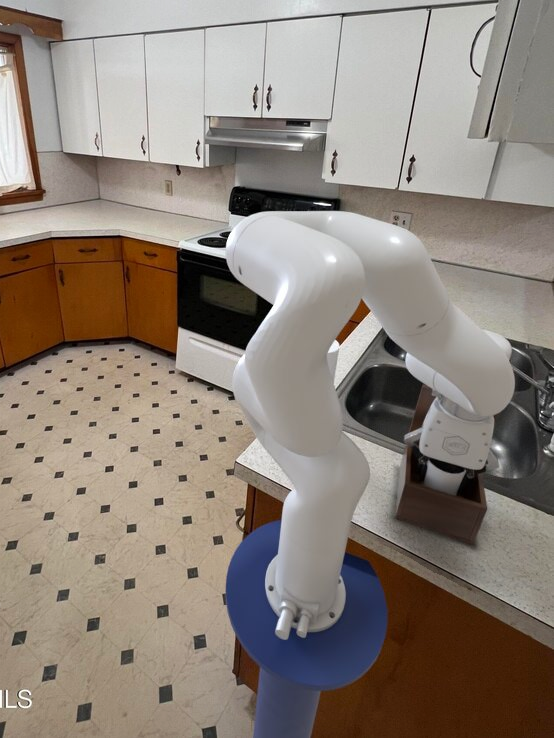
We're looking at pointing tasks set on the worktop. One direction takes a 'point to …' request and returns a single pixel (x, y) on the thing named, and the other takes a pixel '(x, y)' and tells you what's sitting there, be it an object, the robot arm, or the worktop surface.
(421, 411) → the lid
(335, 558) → the robot arm
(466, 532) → the chest
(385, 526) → the worktop surface
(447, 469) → the white cup
